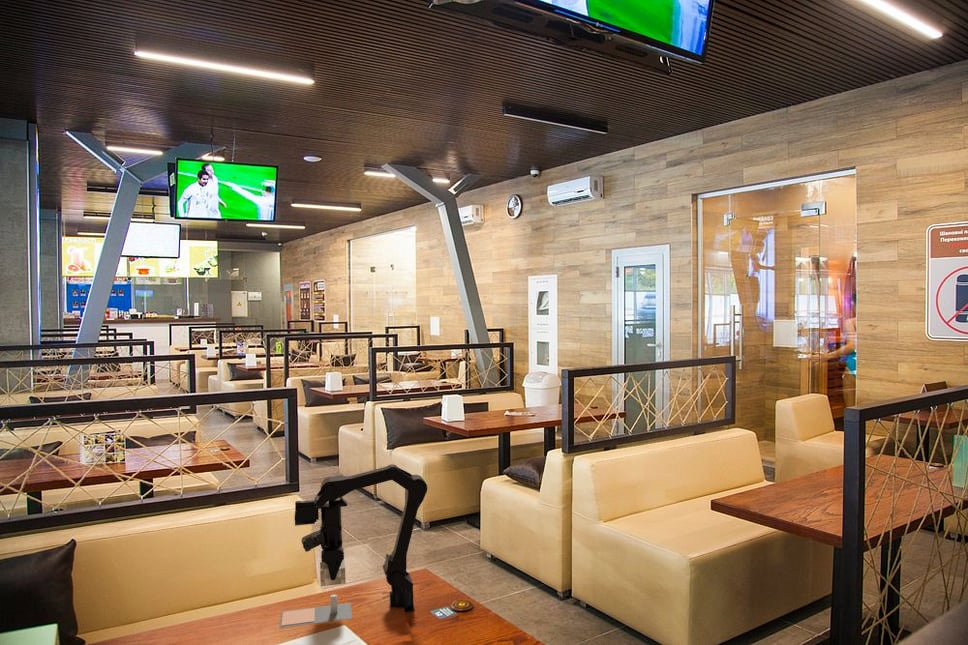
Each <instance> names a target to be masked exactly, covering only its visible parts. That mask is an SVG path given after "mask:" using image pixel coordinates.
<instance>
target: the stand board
mask: <svg viewBox="0 0 968 645" xmlns="http://www.w3.org/2000/svg"><path fill="white" fill-rule="evenodd" d="M329 600H330V603H329V605H322V606H321V605H320V606H313V607H307V608H299V609H297V608H296V609H291V610H284V611H283V610H282V611H281V613H280V614H281V615H280V619H279V620H280V622H279V629H282V628H283V629H285V628H292V627H299V626H306V625H313V624H321V623H322V624H323V623H329V622H336V621H342V620H343V621H344V620H345V621H346V620H350V619H353V612H352V603H351V602H346V603H338V595H337V594H331V595H330V596H329Z"/></svg>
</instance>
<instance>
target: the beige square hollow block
mask: <svg viewBox="0 0 968 645" xmlns="http://www.w3.org/2000/svg"><path fill="white" fill-rule="evenodd" d="M319 568H320V569H319V574H320V577H319V578H320V579H319V581H320V588H321V587H328V586H338V585H345V584H346V563H345V559H344V560H343V561H342V563H341V566H340V568H339V571H338V573H337V576H336V579H335V580H331V577H330V573H329V569H328V565H327V564H326V563H324V562H319Z"/></svg>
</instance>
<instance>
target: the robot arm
mask: <svg viewBox="0 0 968 645" xmlns="http://www.w3.org/2000/svg"><path fill="white" fill-rule="evenodd" d="M389 481H393V482H394V483H396V484H397V485H399V486H400V487H401V488H403V489H404V507H403V511H402V515H401V518H400V519H401V520H400V522H399V526H398V531H397V535H396V539H395V544H394V547H393V550H392V552H391V554H388V553H386V554H385V561H384V564H383V565H382V569H383V572H384V575H385V579H386V583H388V585H390V589H391V590H390V591H389V593H388V594H389V597H388V598H389V606H390V608H398V609H403V611H404V612H409V611H415V610H416V608H415V605H414V582H413V580H412V577H411V575H410V573H409V572H408V571H407V567H408V565H407V555H408V551H409V547H410V542H411V538H412V534H413V529H414V526H415V522H416V518H417V514H418V511H419V508H420V507H421V505H422V503H423V501H424V499H425V497H426V495H427V493H428V485H427V483H426V481H425V479H424V478H423V476H421V475H419V474H412V473H411V472H408V471H406V470H404V469H402V468H400V467H398V466H397V465H396V464H393V463H392V464H388V465H386V466H383V467H379V468H376V469H373V470H372V469H370V470H368V471H363V472H360V473H357V474H353V475H348V476H347V475H342V476H341V475H339V476H337V475H336V476H329V477H326V478H324V479H323V480H322V482H321V483H320V490H319V491H318V493H317V494H316V495H315V497H314V499H313V500H296V501H295V502H294V503H295V504H294V506H295V507H294V510H295V511H294V526H295V527H297V526H307V525H315V524H316V523H317V522H318V520H319V521H321V525H320V527H319V528H320V529H319V530H315V531H313V532H310V533H309V534H307V535H305V536H303V537H302V538H301V544H302V548H303V549H304V551H305V552H306V553H307V552H309V551H311V550H313V549H315V548H317V547H319V546H320V548H321V552H320V554H321V556H320V558H321V560H320V561H321V562H324V563H326V564H327V565H328V569H329V573H330V577H331V580H335V579H336V576H337V573H338V571H339V568H340V566H341V563H342V561H343V560H344V561H345V551H344V550H345V549H344V548H343V533H342V532H343V531H342V530H343V526H342V525H343V524H342V507H348V501H347V500H345V498H343V497H345V496H347V495H348V494H349V493H351V492H353V491H356V490H360V489H364V488H366V487H370V486H375V485H379V484H382V483H385V482H389ZM319 511H320V512H319ZM319 514H320V516H319ZM319 517H320V518H321V520H320V518H319Z"/></svg>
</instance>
